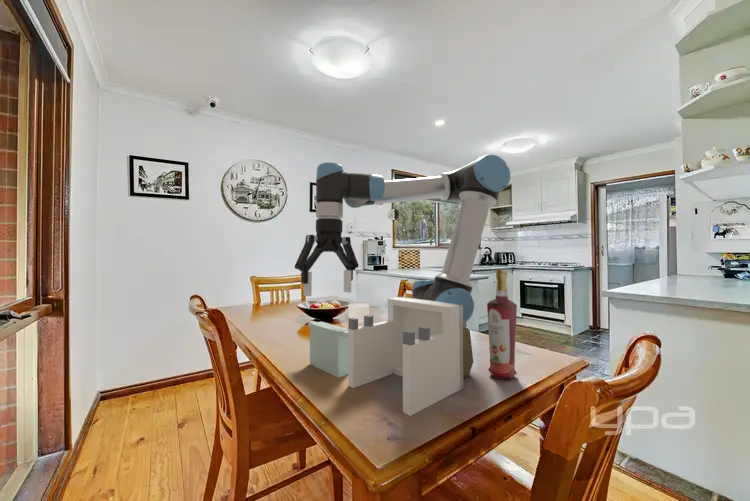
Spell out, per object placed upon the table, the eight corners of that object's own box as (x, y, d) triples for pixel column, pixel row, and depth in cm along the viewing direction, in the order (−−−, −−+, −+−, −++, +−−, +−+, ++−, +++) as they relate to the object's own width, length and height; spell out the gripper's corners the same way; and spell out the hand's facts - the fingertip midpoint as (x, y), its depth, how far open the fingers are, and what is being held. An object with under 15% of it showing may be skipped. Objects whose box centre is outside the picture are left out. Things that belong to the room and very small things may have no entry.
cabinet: (401, 366, 91) (401, 296, 91) (463, 388, 77) (462, 304, 77) (348, 385, 78) (348, 304, 78) (410, 416, 63) (409, 315, 64)
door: (315, 358, 99) (315, 319, 99) (357, 377, 84) (357, 331, 84) (304, 361, 96) (304, 321, 96) (345, 381, 81) (345, 334, 81)
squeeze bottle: (436, 370, 88) (436, 305, 88) (460, 366, 91) (459, 303, 91) (454, 381, 80) (454, 310, 81) (480, 376, 84) (479, 308, 84)
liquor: (523, 377, 83) (522, 270, 83) (506, 384, 79) (505, 270, 79) (498, 369, 89) (498, 268, 89) (481, 374, 85) (480, 269, 85)
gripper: (354, 223, 102) (353, 289, 101) (282, 216, 84) (281, 296, 84) (370, 221, 96) (369, 291, 96) (296, 213, 79) (295, 299, 79)
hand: (328, 294), depth 90 cm, fingers open, 13 cm apart
